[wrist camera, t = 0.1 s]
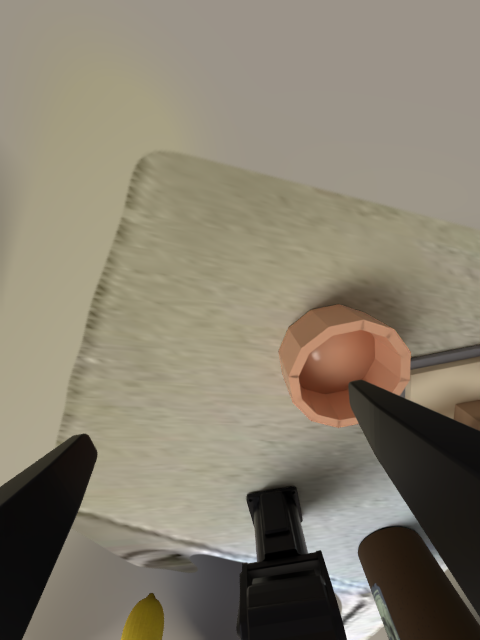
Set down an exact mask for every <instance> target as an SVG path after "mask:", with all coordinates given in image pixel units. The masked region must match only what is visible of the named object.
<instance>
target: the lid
mask: <svg viewBox="0 0 480 640" xmlns="http://www.w3.org/2000/svg"><path fill="white" fill-rule="evenodd" d="M405 398H406V399H408V400H410V401H413V402H415V403H417V404H420V405H422V406H424V407H426V408H429V409H431V410H433V411H436V412H438V413H440V414H443V415H445V416H447V417H449V418H452V419H454V420H456V421H459V422H461V423H463V424H466V425H468V426H470V427H472V428H475V429H477V430H479V431H480V356H479V357H474V358H469V359H464V360H459V361H454V362H448V363H443V364H438V365H433V366H428V367H423V368H418V369H413V370H410V381H409V382H408V384H407V385H406V387H405Z"/></svg>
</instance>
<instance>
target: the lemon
mask: <svg viewBox="0 0 480 640" xmlns="http://www.w3.org/2000/svg"><path fill="white" fill-rule="evenodd" d="M163 629H164V613H163V608H162V606H161V604H160V602H159V601H158V600H157V599H156V598H155V596H154V594H153V593H150V594H149V595H148V596H147V597H146V598H144V599H142V600H141V601H139V602H138V603H137V604H136V605H135V607H134V608H133V609H132V611H131V613H130V615H129V616H128V619H127V621H126V623H125V626H124V629H123V633H122V637H121V640H162V636H163Z"/></svg>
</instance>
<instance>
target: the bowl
mask: <svg viewBox="0 0 480 640" xmlns="http://www.w3.org/2000/svg"><path fill="white" fill-rule="evenodd" d="M278 352H279V358H280V364H281V369H282V375H283V377H284V380H285V383H286V386H287V388H288V391H289V394H290V396H291V399H292V402H293V403H294V404H295V405H296V406H297V407H298V408H299V409H300V410H301V411H302V412H303V413H304V414H305V415H306V416H307V417H308V418H309V419H310V420H311V421H313V422H317V423H321V424H325V425H329V426H333V427H337V428H339V427H344V426H350V425H355V424H359V423H358V421H357V419H356V417H355V415H354V413H353V411H352V409H351V406H350V402H349V388H348V385H349V382H351V381H355V380H364V381H367V382H369V383H371V384H374V385H376V386H378V387H381V388H383V389H385V390H387V391H390V392H392V393H394V394H397V395H399V396H400V395H401V393H402V392H403V390H404V389H405V387H406V385H407V384H408V382H409V381H410V364H411V352H410V350H409V349H408V347H407V346H406V345H405V343H404V342H403V341H402V339H401V338H400V336H399V335H398V334H397V332H396V331H395V329H393V328H391V327H389V326H388V325H386V324H384V323H382V322H380V321H379V320H377V319H375V318H373V317H371V316H370V315H368V314H366V313H364V312H361V311H358V310H355V309H352V308H349V307H346V306H343V305H340V304H337V305H332V306H327V307H322V308H318V309H313V310H310V311H309V312H307V313H306V314H305V315H304V316H302V317H301V318H300V319H299V320H297V321H296V322H295V323H294V324H292V325H291V326H290V327H289V328H288V330H287V332H286V335H285V337H284V339H283V342H282V344H281V347H280V349H279V351H278Z"/></svg>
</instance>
